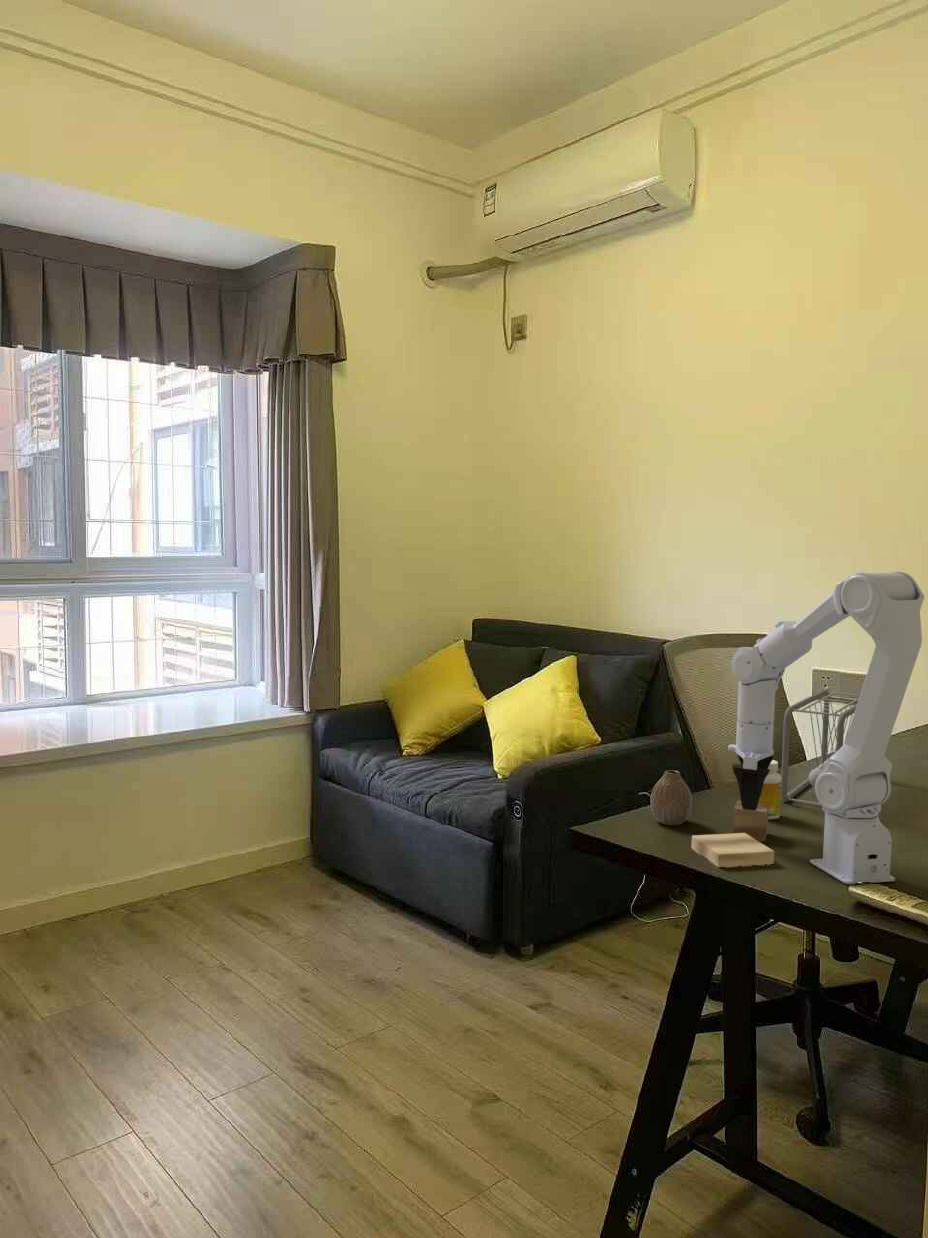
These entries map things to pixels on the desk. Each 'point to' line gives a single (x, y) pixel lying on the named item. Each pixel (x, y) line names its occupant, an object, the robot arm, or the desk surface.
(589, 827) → the desk surface
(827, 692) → the newton's cradle
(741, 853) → the oak block
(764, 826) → the walnut cube
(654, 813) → the vase
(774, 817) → the supplement bottle
